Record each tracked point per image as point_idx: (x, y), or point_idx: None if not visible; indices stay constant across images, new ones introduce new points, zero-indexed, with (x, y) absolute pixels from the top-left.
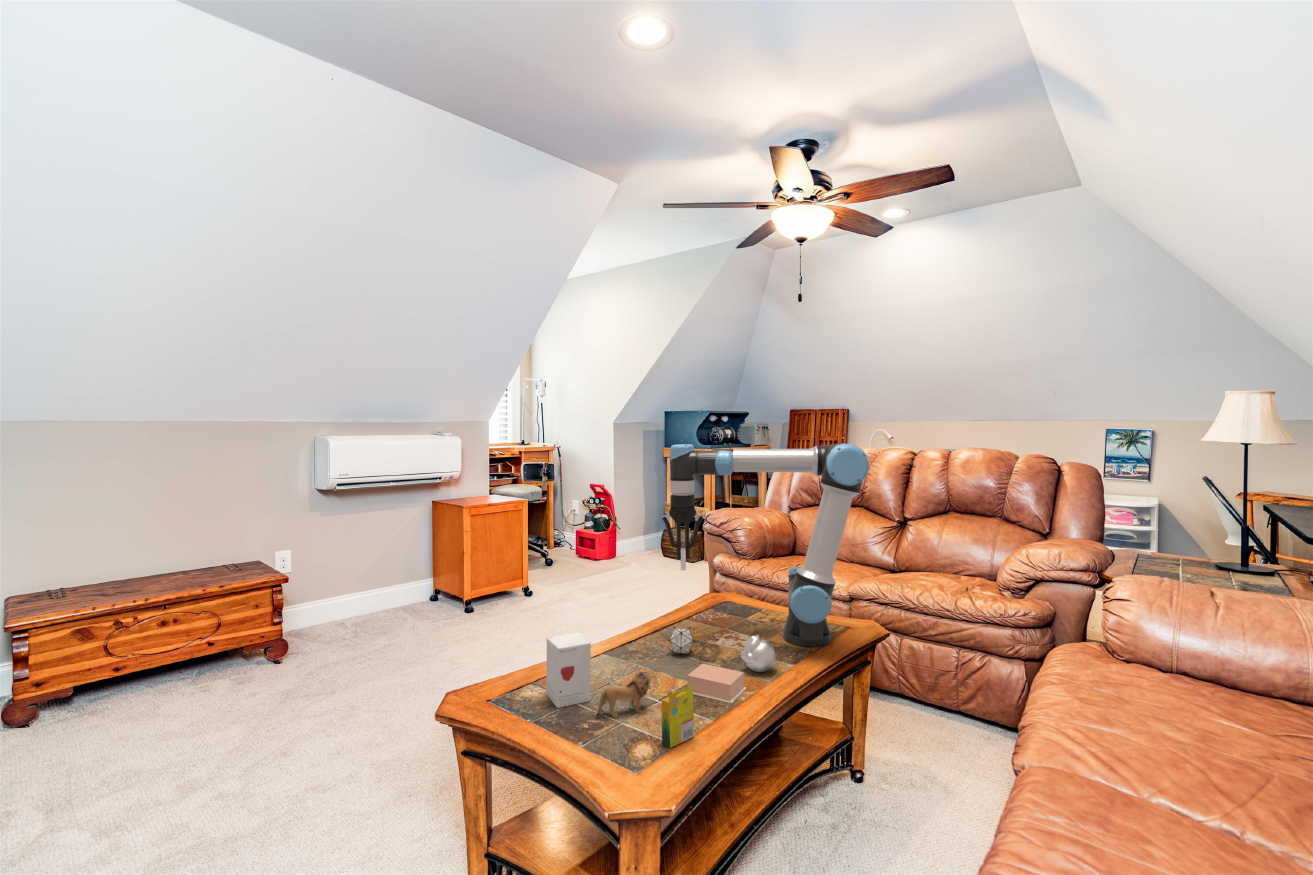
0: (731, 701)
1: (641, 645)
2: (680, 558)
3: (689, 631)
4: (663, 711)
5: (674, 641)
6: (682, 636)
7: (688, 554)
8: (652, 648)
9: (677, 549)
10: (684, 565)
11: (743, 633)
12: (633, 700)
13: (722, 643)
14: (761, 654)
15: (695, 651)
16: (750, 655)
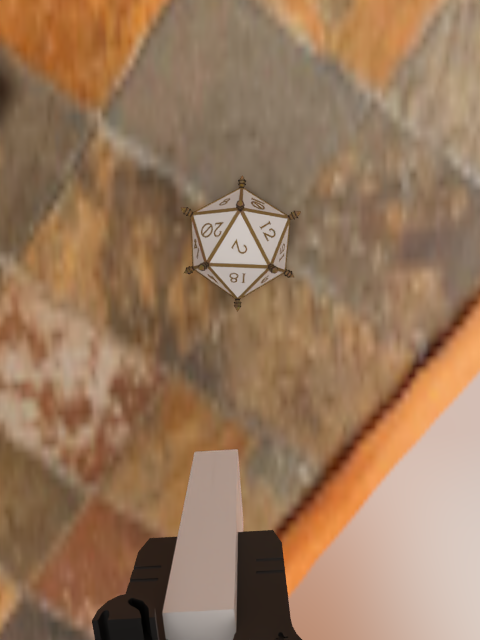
0: None
1: (390, 314)
2: (242, 534)
3: (204, 250)
4: None
5: (268, 206)
6: (234, 204)
7: (141, 577)
8: (349, 287)
9: (284, 625)
10: (203, 475)
11: (25, 451)
12: None
13: (96, 350)
14: None
15: (190, 266)
16: None
